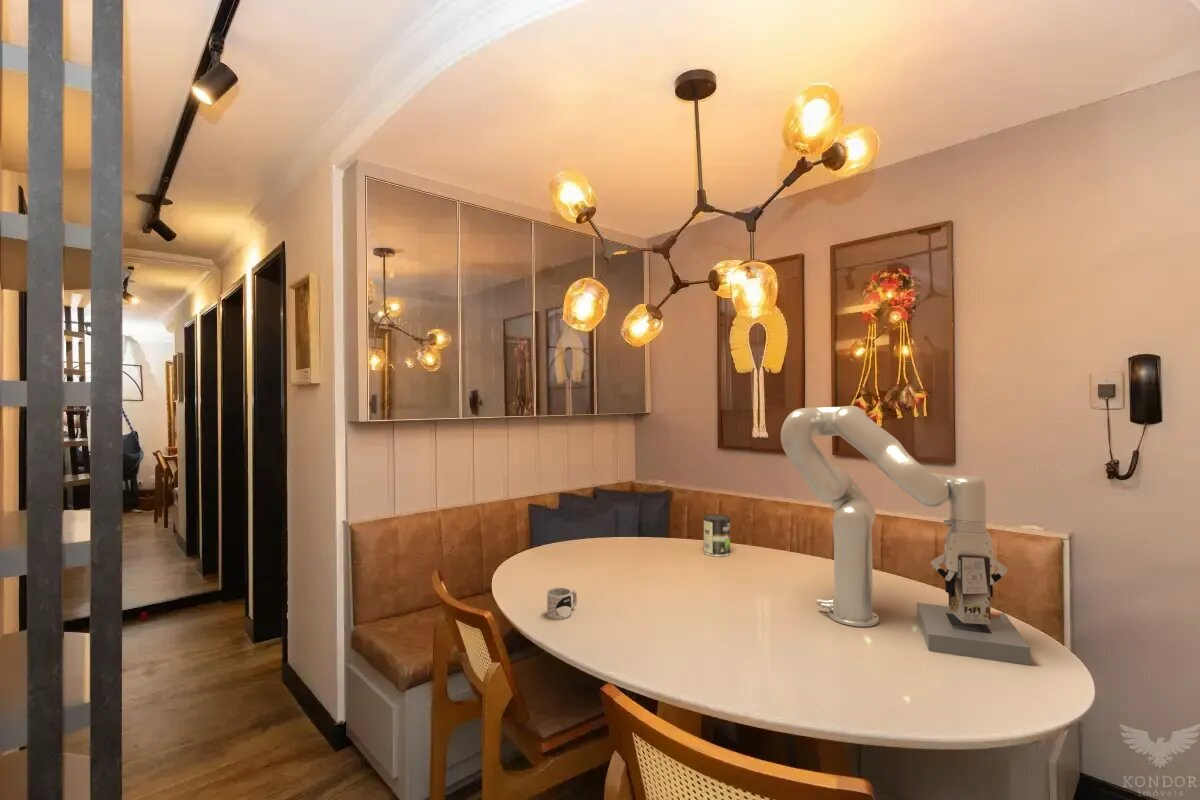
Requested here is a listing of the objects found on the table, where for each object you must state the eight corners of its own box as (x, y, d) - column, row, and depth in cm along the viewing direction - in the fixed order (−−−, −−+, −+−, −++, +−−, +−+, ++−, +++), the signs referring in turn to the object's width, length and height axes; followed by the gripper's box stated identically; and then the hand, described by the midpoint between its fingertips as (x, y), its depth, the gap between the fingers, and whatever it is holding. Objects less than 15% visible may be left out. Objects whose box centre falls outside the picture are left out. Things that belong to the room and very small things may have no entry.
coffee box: (992, 625, 137) (991, 558, 137) (962, 623, 138) (961, 556, 138) (975, 611, 146) (974, 548, 146) (947, 609, 147) (946, 547, 147)
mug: (558, 622, 155) (558, 597, 155) (542, 616, 159) (542, 592, 159) (584, 611, 162) (584, 588, 162) (568, 606, 167) (568, 583, 167)
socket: (928, 650, 136) (928, 630, 136) (916, 617, 156) (916, 599, 156) (1030, 665, 128) (1030, 644, 128) (1004, 628, 149) (1003, 609, 149)
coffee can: (734, 551, 223) (734, 515, 222) (724, 558, 214) (724, 520, 214) (709, 548, 228) (709, 512, 228) (699, 554, 220) (698, 517, 219)
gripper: (930, 526, 142) (930, 598, 142) (1014, 532, 135) (1015, 607, 135) (925, 520, 149) (926, 588, 149) (1005, 525, 142) (1006, 596, 142)
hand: (968, 596), depth 142 cm, fingers closed on coffee box, 7 cm apart
